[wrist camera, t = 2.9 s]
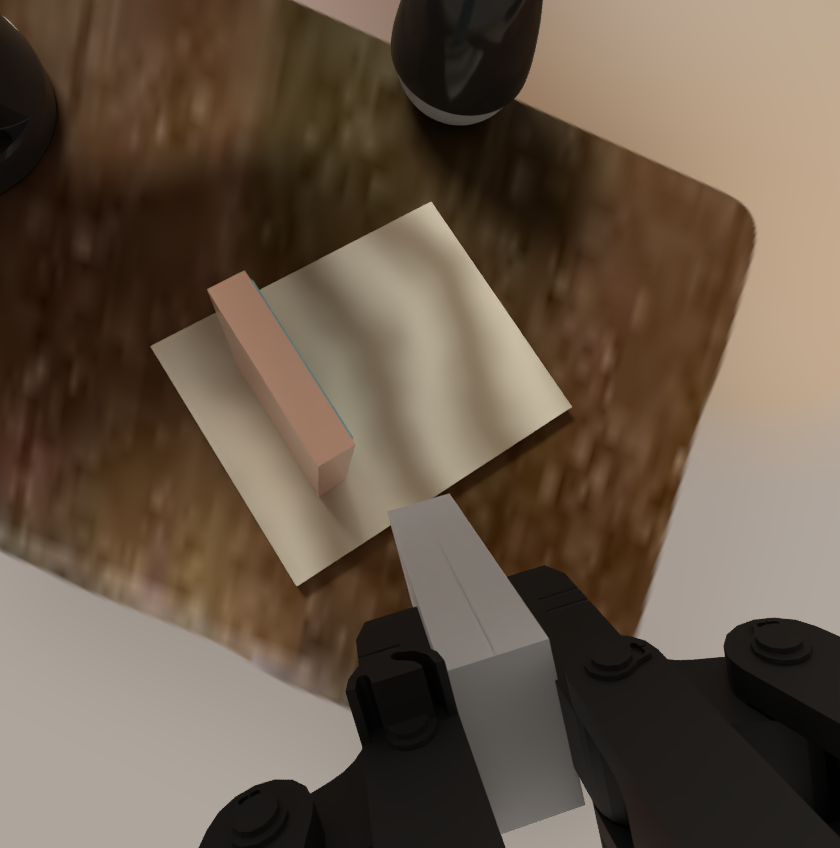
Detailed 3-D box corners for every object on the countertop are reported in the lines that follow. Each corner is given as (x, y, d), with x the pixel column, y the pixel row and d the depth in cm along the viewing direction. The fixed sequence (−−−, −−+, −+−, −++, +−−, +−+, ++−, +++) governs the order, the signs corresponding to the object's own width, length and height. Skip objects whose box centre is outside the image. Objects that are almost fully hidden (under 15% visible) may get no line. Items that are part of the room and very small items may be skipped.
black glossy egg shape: (522, 52, 52) (601, -151, 37) (504, 162, 50) (582, -10, 35) (398, 18, 51) (430, -204, 36) (374, 129, 48) (398, -63, 34)
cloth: (297, 586, 40) (296, 586, 40) (153, 350, 42) (150, 346, 42) (567, 409, 46) (572, 406, 45) (429, 207, 48) (431, 201, 47)
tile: (318, 496, 41) (318, 466, 29) (237, 367, 42) (206, 289, 30) (347, 478, 42) (358, 442, 30) (267, 351, 43) (247, 268, 31)
